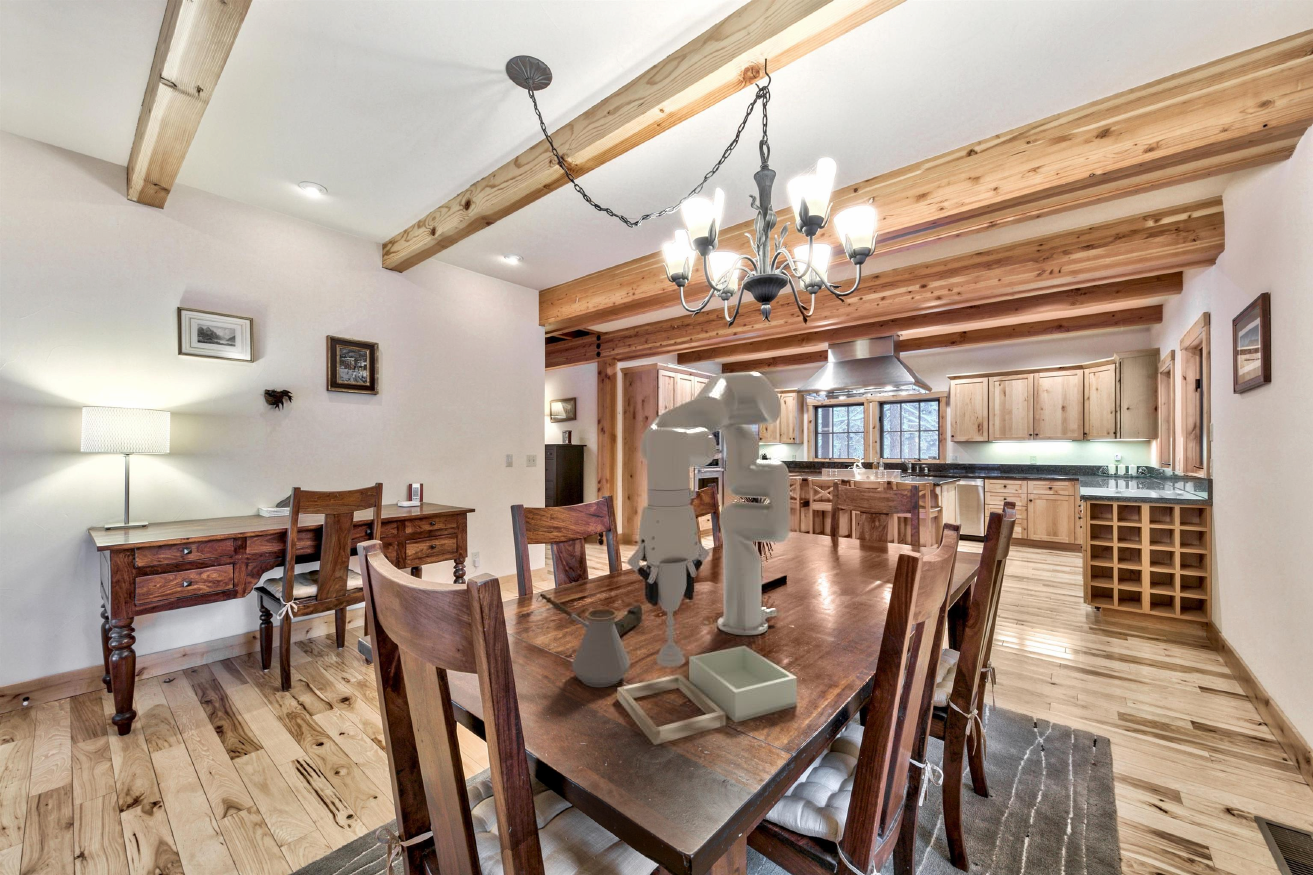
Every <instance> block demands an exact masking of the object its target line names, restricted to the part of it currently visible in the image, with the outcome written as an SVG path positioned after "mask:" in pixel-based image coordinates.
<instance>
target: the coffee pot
mask: <svg viewBox="0 0 1313 875" xmlns="http://www.w3.org/2000/svg"><path fill="white" fill-rule="evenodd" d="M540 598H541V599H540ZM539 599H540V600H539ZM543 600H545V601H546V603H547V604H550V605H551V606H553V608H554V609H556V610H557V611H559V612H561V613H563V614H564V615H565V616H568V617H569V618H571V619H573V620H574V621H576V622H577V623H578V624H580V625H581V626H583V628H585V629H586V630H585V632H584V635H583V637H582V639H581V642H580V645H579V646H578V649H577V651H576V654H575V656H574V659H573V660H572V661H573V662H572V664H571V666H572V671H573V673H574V674H575V676H576V677H577V679H579V681H580V680H581V682H582V683H583V684H585V685H586V686H589V687H593V688H605V687H611V686H613V685H616V684H617V683H619V682H620V681H621V679H622V678H623V677H625V675H626V674H627V673H628V671H629V669H630V667H631V666H630V665H631V662H630V658H629V656H628V654H627V652H626V651H627V650H626V649H625V647H624V644H623V641H622V639H621V636H619V634H618V632H617V629H616V627H615V625H614V622H616V621H615V620H616V618H617V617H618V612H617V611H616V610H614V609H611V608H596V609H592V610H588V611H586V613H585V614H584V617H585V618H586V619H587V621H585V620H583V619H582V618H580V617H578V616H577V615H575V614H573V612H571V611H570V610H569V609H568V608H566V607H565V606H564V605H562V604H561V603H559V602H558V601H555V600H554V599H552V597H550V596H549V597H548V596H547V595H546V594H544V593H540V595H539V596H538V597H537V598H536V602H537V603H541V602H542V601H543Z"/></svg>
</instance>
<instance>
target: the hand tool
mask: <svg viewBox="0 0 1313 875" xmlns="http://www.w3.org/2000/svg"><path fill="white" fill-rule="evenodd" d="M642 621H643V609H642V606H641V605H640V604H638V605H637V604H636V605H633V606H632V607H629V609H628V610H627V613H626V614H624V615H623V616H622V617H620V618H619V619H617V620H616V621H614V625H615V627H616V629H617V632H618V634H619V637H621V636H622V635H624V634H625V633H626V632H628V631H629V630H630V629H631V628H637V627H638V626H640V624H641V623H642Z"/></svg>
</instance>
